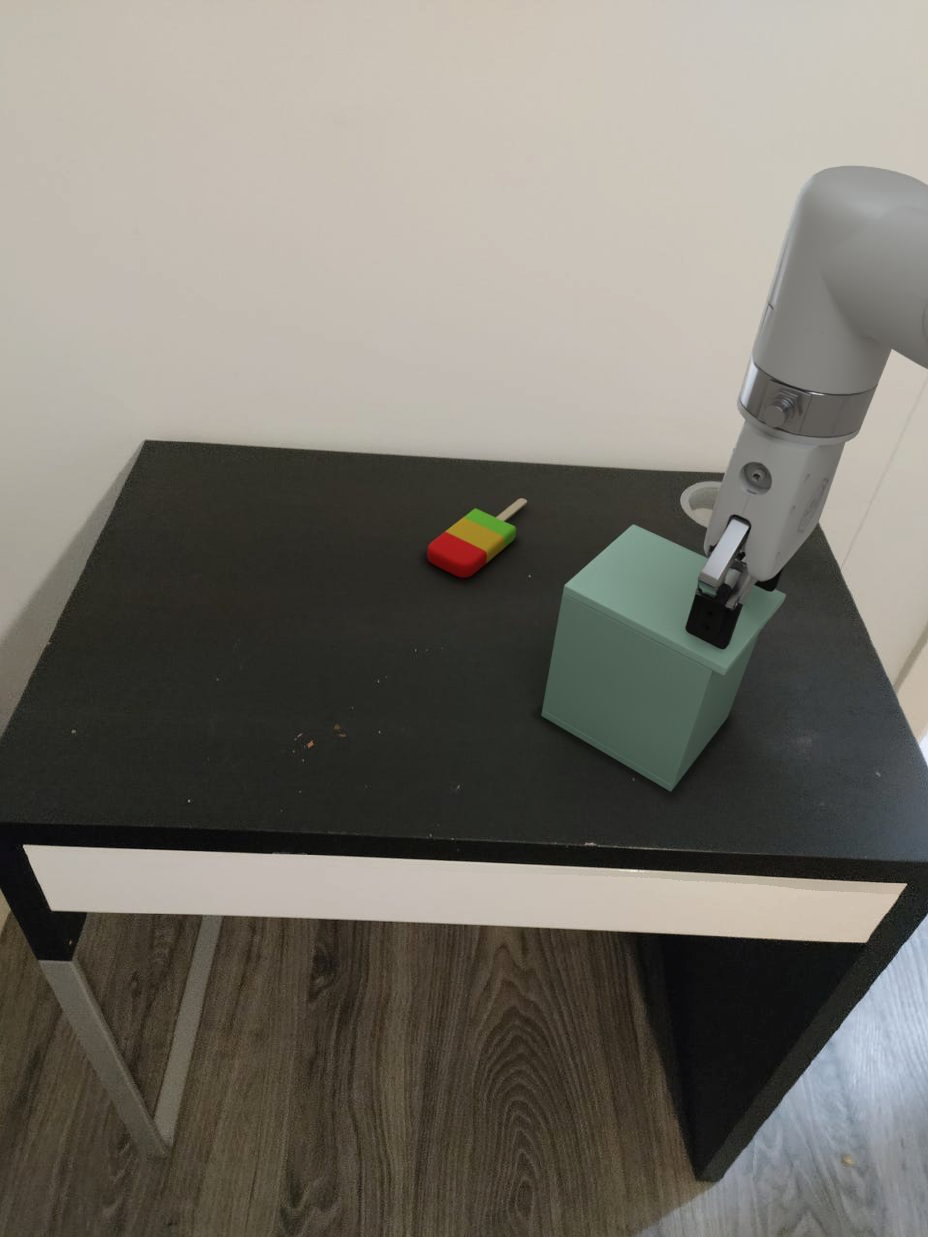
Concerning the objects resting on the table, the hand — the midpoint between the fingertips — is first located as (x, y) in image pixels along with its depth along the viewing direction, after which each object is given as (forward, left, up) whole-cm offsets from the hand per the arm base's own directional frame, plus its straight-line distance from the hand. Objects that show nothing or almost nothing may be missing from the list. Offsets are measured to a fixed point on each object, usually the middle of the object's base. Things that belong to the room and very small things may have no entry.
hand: (731, 608), depth 68 cm
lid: (+4, -1, -1) cm, 5 cm away
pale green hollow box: (+5, -1, -15) cm, 16 cm away
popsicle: (+26, -19, -15) cm, 36 cm away
